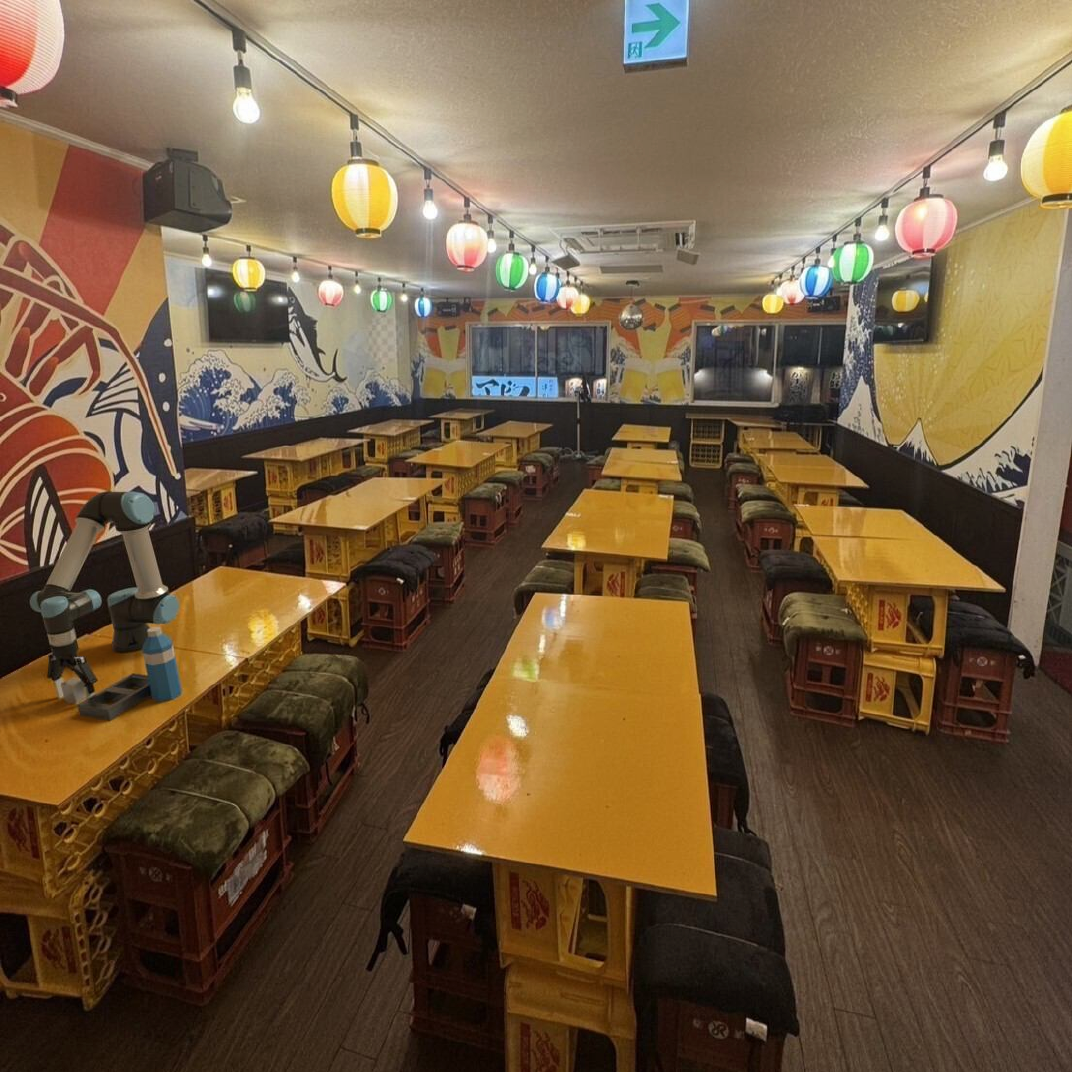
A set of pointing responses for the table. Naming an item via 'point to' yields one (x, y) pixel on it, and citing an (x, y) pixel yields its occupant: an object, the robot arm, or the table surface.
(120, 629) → the robot arm
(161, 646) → the water bottle
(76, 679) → the brushed gray brick
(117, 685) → the grey compartment tray
